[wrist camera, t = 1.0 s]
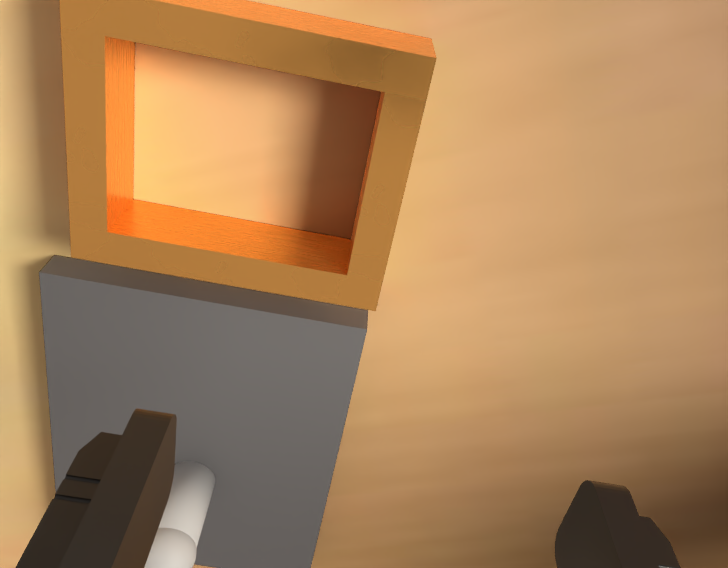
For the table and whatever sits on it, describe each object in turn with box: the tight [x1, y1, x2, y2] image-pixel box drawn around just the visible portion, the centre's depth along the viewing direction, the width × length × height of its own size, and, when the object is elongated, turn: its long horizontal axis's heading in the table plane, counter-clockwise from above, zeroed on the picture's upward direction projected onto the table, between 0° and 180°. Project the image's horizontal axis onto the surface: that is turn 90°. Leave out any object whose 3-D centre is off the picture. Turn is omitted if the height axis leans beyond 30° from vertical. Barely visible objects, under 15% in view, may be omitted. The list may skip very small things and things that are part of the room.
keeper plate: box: [39, 255, 368, 568], centre depth 31 cm, size 14×18×7 cm
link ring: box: [59, 0, 436, 311], centre depth 25 cm, size 12×10×3 cm
